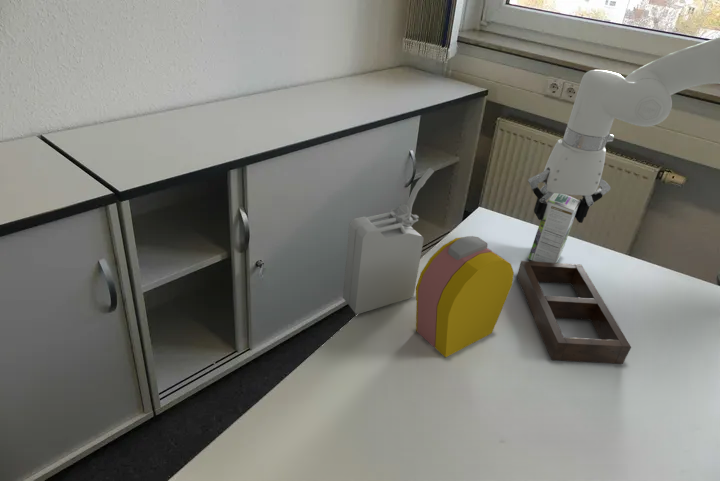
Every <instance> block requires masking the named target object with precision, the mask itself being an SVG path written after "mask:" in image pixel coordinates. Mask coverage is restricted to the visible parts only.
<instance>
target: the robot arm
mask: <svg viewBox="0 0 720 481" xmlns="http://www.w3.org/2000/svg"><path fill="white" fill-rule="evenodd" d="M704 85H720V36H719V37H716V38H712V39H709V40H706V41H702V42H701V43H697V44H694V45H690V46H687V47H685V48H681V49H678V50H676V51H673V52H670V53H668V54H666V55H663V56H662V57H661V56H660V57H659V58H657V59H655V60H653V61H651V62H649V63H647V64H645V65H643V66H640V67H639V68H637V69H635V70H633V71H632V72H630V73H629V74H627V76H626V77H624V76H622V75H621V74H620V73H617V72H613V71H609V70H604V69H591V70H587V71H586V72H585V73H584V74H583V76H582V78H581V80H580V83H579V85H578V86H579V87H578V89H577V93H576V95H575V98H574V102H573V105H572V109H571V112H570V115H569V117H568V121H567V125H566V128H565V130H564V135H563V138H562V139H560V138H559V139H557V141H556V143H555V145H554V147H553V149H552V150H551V152H550V154H549V157H548V159H547V161H546V164H545V166H544V169H543V171H541V172H539V173H537V174H535V175H533V176H531V177H529V178H528V179H527V182H528V184H529V186H530V188H531V190H532V192H533V194H534V196H536V202H535V204H534V208H533V213H534V214H535V216H536V218H537V219H538V221H541V220H542V219H543V217H544V214H545V210H546V207H547V202H548V200H549V199H550V198H551V196H552V195H553V194H554V193H556V194H564V195H568V196H571V195H572V196H582V197H581V198H579V200H580V204H579V207H578V209H577V212H576V215H575V218H574V219H576V221H577V222H578V223H580V224H583V222H584V220H585V218H586V217H587V215H588V212H589V209H590V207H592V206H594V204H595V202H597V201H599V200H600V199H602V198H603V196H605V194H608V193H609V192H610V190H612V187H611V186H610V184H609V183H608V182H607V181H605V180H604V178H603V177H602V176H603V172H604V168H605V162H606V155H607V149H606V147H607V146H606V145H607V143H612V142H613V141H614V139H615V136H614V134H610V131H611V129H612V127H613V123H614V121H615V120H619V121H622V122H624V123H627V124H630V125H634V126H637V127H643V128H644V127H645V128H646V127H653V126H657V125H659V124H661V123H662V122H664V121H666V119H667V118H668V117H669V115H670V114H671V112H672V108H673V100H672V96H673V95H674V94H678V93H680V92H681V91H685V90H687V89H692V88H695V87H699V86H704ZM540 183H542V184H544V185H542V187H541V188H539V184H540Z"/></svg>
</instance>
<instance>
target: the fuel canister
mask: <svg viewBox="0 0 720 481" xmlns="http://www.w3.org/2000/svg"><path fill="white" fill-rule="evenodd" d="M434 173H435V170H434V169H433V168H431V167H428V168H427V170H426V171H425V173H424V174H423V175H422V176H421V177H420V178H419V179H418V180H417V181H416V183H415V185H414V186H413V188H412V190H411V193H410V195H409V198H408V200H407V202H406V204H400V206H397V207H394V208H391V209H390V212H385V213H380V214H376V215H370V216H360V217H355V218H353V219H352V220H350V223H349V224H348V233H347V235H348V236H347V245H346V246H347V247H346V258H345V269H344V280H343V290H342V291H343V292H342V298H343V300H344V301H345V302H346V304H347V305H348V306H349V308H350V309H351V310H352V311H353V312H354V314H355V315H360V314H363V313H366V312H369V311H373V310H376V309H379V308H383V307H386V306H390V305H392V304H396V303H399V302H402V301H405V300H410V299H411V298H413V297H414V296H415V292H416V286H417V279H418V273H419V268H420V262H421V257H422V251H423V245H424V240H425V239H424V236H423V235H421V234H420V233H419V232H418V231H417V230H416V229H414V227H412V226H413V225H414V224H415V223H416V222H419V218H420V217H419V215H418V214H412V210H413V205H414V203H415V201H416V199H417V196H418V193H419V191H420V190H421V188H423V187H424V185H425V184H426V183H427V181H428V179H430V177H431V176H432V175H433V174H434ZM394 216H395V217H394Z"/></svg>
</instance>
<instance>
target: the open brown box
mask: <svg viewBox="0 0 720 481" xmlns="http://www.w3.org/2000/svg"><path fill="white" fill-rule="evenodd" d="M589 276H590V275H589V274H588V272H587V271H586V269H585V268H584V266H583V265H582V264H581V263H579V264H578V263H566V262H565V263H564V262H563V263H562V262H557V263H550V262H535V261H532V260H520V263H519V267H518V269H517V273H516V279H517V282H518V284H519V286H520V288H521V291H522V293H523V295H524V298H525V300H526V302H527V305H528V307H529V310H530V312H531V314H532V316H533V319H534V321H535V324H536V326H537V329H538V331H539V334H540V336H541V338H542V340H543V343H544V347H545V349H546V350H547V353H548V355H549V357H550V360H552V361H562V362H563V361H564V362H581V363H597V364H599V363H601V364H618V365H624V363H625V361H626V358H627V356H628V355H629V353H630V350H631V349H632V346H631V344H630V342H629V341H628V339H627V337H626V336H625V334H624V332H623V330H622V329H621V328H620V326H619V324H618V323H617V321H616V320H615V318H614V316H613V315H612V313H611V311H610V309H609V308H608V305H607V304H606V303H605V301H604V300H603V297H602V296H601V294H600V293H599V291H598V289H597V288H596V286H595V285H594V283H593V281H592V280H591V278H590V277H589ZM540 283H550V284H563V285H564V284H567V285H571V286H572V288H573V290H574V292H575V294H576V295H577V297H573V296H560V295H559V296H558V295H557V296H555V295H545V294H544V291H543V289H542V287H541V284H540ZM557 319H563V320H565V319H566V320H581V321H582V320H583V321H590V322H591V323H592V325H593V327H594V329H595V331H596V332H597V334H598V336H599V338H588V337H587V338H585V337H568V336H564V335H563V331H562V330H561V328H560V326H559V323H558V321H557Z"/></svg>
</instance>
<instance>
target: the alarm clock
mask: <svg viewBox="0 0 720 481" xmlns="http://www.w3.org/2000/svg"><path fill="white" fill-rule="evenodd" d="M488 245H489V244H488V242H486V241H485V240H483V239H482V238H481V237H479V236H475V235H468V236H461V237H455V238H454V239H452V240H450V241H448V242H447V243H445V244H443V245H442V246H441V247H439V249H438V250H437V251H436V252H435V253H434V254H433V255H431V257H429V260H428V261H427V262H426V264H425V266H424V267H423V268H422V270H421V272H420V274H419V277H418V280H417V282H416V285H415V301H416V309H415V311H416V312H415V320H416V321H415V331H416V332H417V334H419V335H420V336H421V337H422V338H423V339H424V340H426V341H427V343H429V344H430V345H431V346H432V347H433V348H435V350H437V352H439V353H440V354H441V355H442V356H444V358H447V357H449V356H452V355H453V354H456V353H458V352H459V351H461V350H463V349H465V348H467V347H468V346H470V345H472V344H475V343H476V342H478V341H480V340H482V339H484V338H486V337H488V336H489V335H491V334H492V333H493V332H494V329H495V327H496V324H497V322H498V320H499V318H500V315H501V312H502V310H503V309H504V306H505V303H506V301H507V298H508V297H509V294H510V292H511V289H512V286H513V281H514V274H515V272H514V269H513V266H512V263H511V262H510V261H507V260H506V259H504V257H502V256H500V255H498V254H497V253H495V252H494V251H493V250H492V249H489V248H488Z"/></svg>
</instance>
